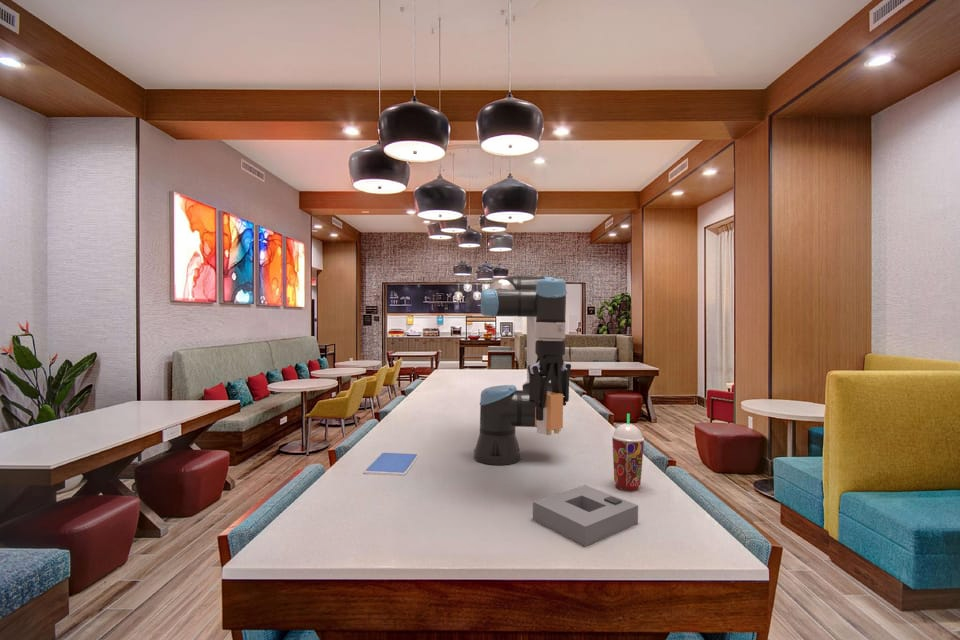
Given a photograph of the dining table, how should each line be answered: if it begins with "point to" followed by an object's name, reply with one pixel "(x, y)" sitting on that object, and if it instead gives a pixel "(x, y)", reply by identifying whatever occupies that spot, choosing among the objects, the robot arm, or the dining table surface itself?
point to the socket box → (585, 514)
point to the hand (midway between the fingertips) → (548, 431)
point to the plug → (553, 412)
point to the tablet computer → (392, 464)
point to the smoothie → (627, 456)
